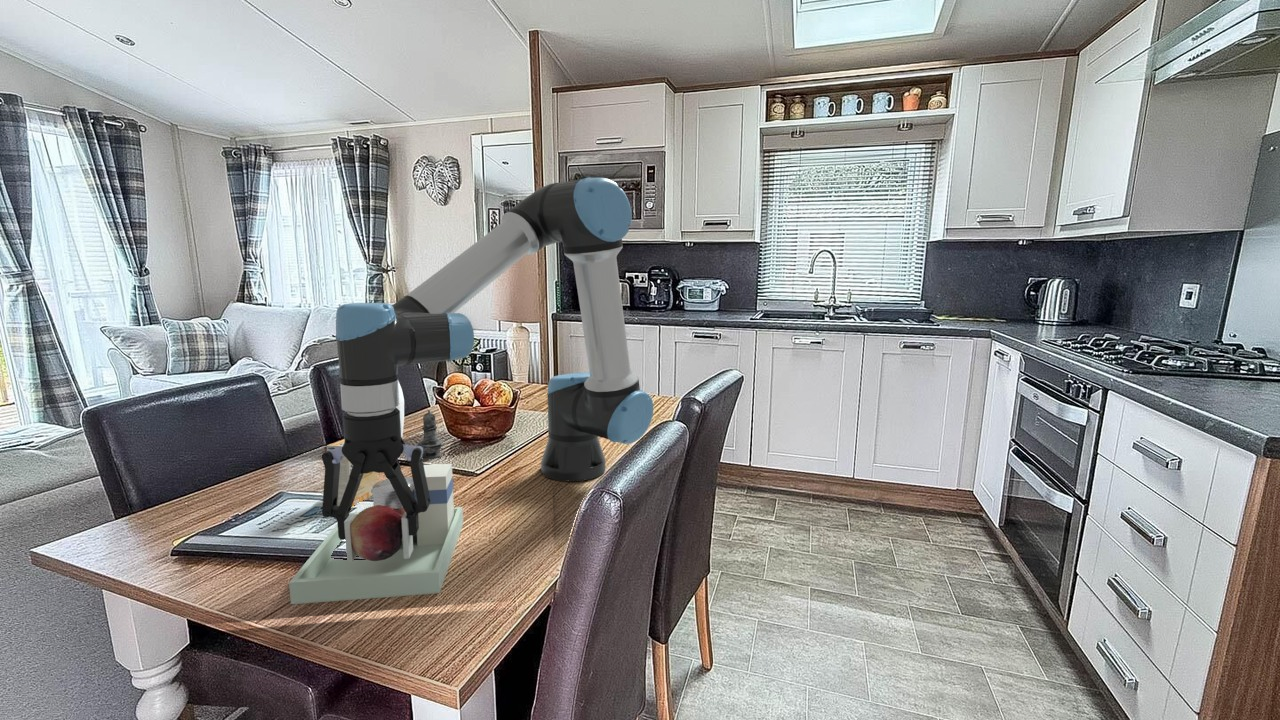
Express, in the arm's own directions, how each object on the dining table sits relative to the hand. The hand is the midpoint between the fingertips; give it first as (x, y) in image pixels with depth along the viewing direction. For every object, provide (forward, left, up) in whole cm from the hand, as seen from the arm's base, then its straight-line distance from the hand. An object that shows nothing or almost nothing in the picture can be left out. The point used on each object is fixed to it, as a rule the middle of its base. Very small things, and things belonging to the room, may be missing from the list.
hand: (381, 555), depth 83 cm
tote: (0, -4, -3) cm, 5 cm away
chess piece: (+4, -56, -4) cm, 56 cm away
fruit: (0, 0, 0) cm, 1 cm away
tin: (0, -10, -3) cm, 10 cm away
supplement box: (+13, -29, -4) cm, 32 cm away
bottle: (+19, -70, -4) cm, 73 cm away
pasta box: (-6, -10, -3) cm, 12 cm away
